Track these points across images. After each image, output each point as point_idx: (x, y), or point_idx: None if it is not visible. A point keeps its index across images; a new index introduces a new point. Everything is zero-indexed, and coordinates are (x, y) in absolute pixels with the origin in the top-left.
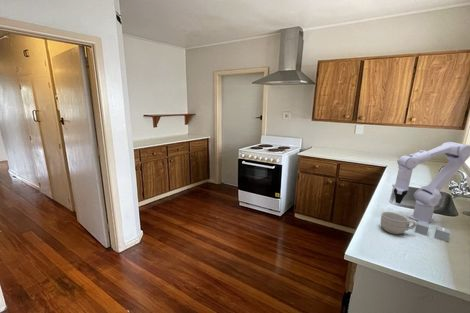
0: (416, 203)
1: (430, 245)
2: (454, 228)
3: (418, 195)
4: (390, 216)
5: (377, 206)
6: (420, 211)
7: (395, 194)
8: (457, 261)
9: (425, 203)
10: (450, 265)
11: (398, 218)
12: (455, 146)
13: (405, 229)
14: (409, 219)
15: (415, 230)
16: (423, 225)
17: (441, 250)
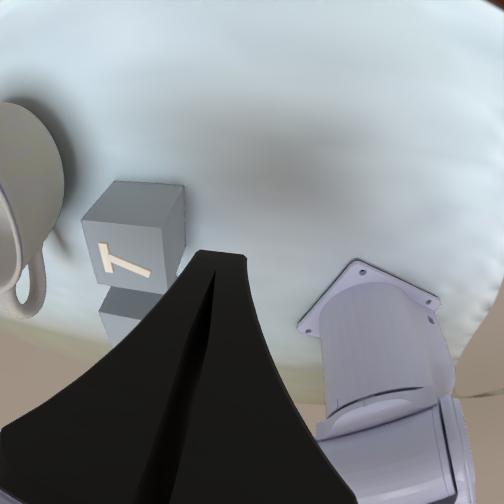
0: (384, 388)
1: (55, 302)
2: (323, 390)
3: (407, 463)
4: (18, 166)
5: (468, 37)
6: (332, 362)
7: (78, 386)
8: (40, 339)
9: (326, 444)
10: (5, 318)
11: (34, 224)
12: None
13: (3, 245)
14: (130, 285)
15: None
16: (116, 335)
17: (57, 323)
